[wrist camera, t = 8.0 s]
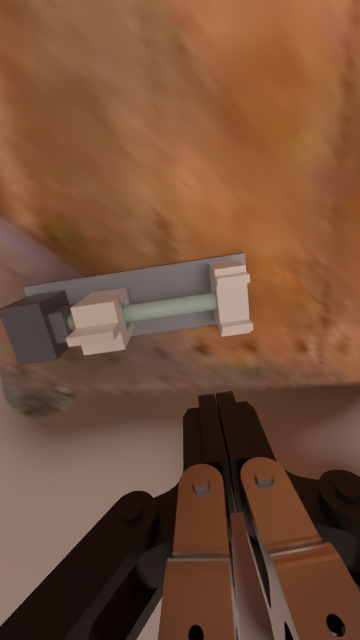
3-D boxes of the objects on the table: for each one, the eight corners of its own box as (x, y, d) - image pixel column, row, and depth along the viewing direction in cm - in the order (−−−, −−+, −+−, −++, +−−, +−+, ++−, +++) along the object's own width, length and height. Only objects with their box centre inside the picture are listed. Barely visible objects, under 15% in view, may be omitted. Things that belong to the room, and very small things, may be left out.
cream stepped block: (126, 287, 30) (106, 309, 21) (135, 326, 31) (119, 361, 23) (92, 292, 30) (58, 316, 21) (102, 331, 31) (74, 367, 23)
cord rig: (243, 252, 30) (262, 258, 23) (247, 317, 33) (266, 339, 26) (26, 286, 31) (-16, 301, 24) (47, 346, 34) (14, 375, 27)
